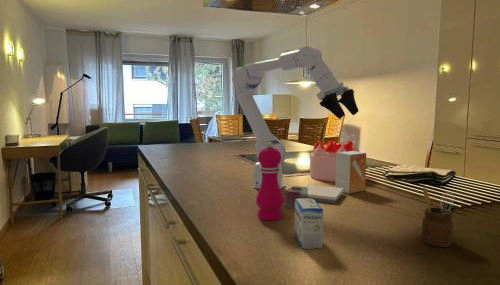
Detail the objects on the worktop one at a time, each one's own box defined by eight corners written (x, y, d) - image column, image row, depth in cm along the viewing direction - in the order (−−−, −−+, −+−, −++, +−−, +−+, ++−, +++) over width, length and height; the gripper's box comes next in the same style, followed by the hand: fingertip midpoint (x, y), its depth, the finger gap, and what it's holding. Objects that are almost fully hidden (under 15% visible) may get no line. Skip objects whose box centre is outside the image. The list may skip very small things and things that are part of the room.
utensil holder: (459, 247, 74) (462, 190, 73) (429, 248, 74) (432, 191, 72) (441, 236, 80) (444, 183, 79) (414, 237, 80) (416, 184, 78)
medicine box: (294, 235, 82) (294, 198, 81) (313, 234, 82) (313, 197, 81) (301, 249, 74) (302, 208, 73) (323, 248, 74) (323, 207, 73)
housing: (285, 208, 103) (285, 188, 102) (293, 201, 109) (293, 183, 109) (300, 210, 101) (300, 190, 100) (307, 203, 107) (307, 185, 107)
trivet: (296, 199, 111) (296, 193, 111) (307, 190, 122) (308, 184, 122) (335, 203, 106) (335, 197, 106) (343, 194, 117) (343, 188, 117)
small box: (349, 194, 117) (350, 154, 115) (334, 190, 122) (335, 152, 121) (365, 190, 121) (366, 152, 120) (351, 187, 127) (351, 150, 125)
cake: (339, 185, 130) (340, 146, 128) (299, 176, 146) (299, 141, 144) (370, 177, 142) (371, 141, 141) (330, 170, 158) (330, 138, 156)
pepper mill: (286, 214, 97) (286, 140, 95) (279, 222, 90) (279, 143, 88) (260, 211, 99) (260, 139, 97) (252, 219, 93) (251, 142, 90)
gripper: (318, 72, 103) (345, 110, 99) (346, 69, 112) (371, 104, 109) (304, 87, 108) (328, 124, 104) (331, 83, 117) (354, 117, 114)
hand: (349, 115), depth 107 cm, fingers open, 7 cm apart
